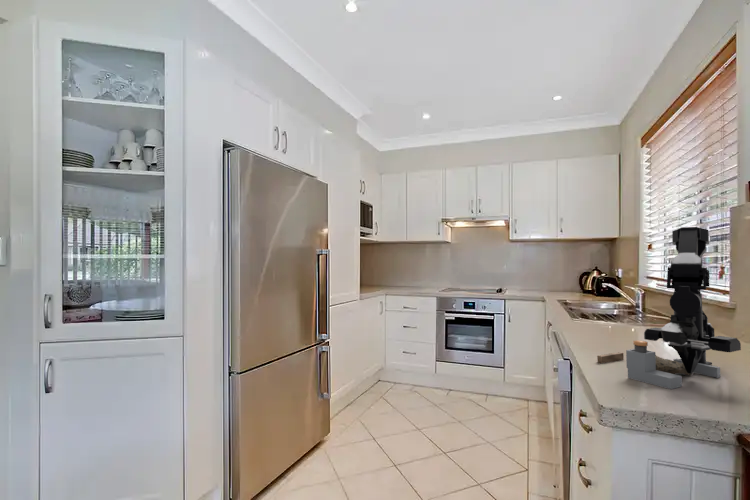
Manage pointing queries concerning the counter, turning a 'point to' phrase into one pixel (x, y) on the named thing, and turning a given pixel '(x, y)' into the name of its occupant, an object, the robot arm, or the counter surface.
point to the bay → (645, 371)
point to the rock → (670, 366)
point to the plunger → (640, 346)
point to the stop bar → (610, 357)
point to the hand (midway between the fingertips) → (690, 373)
